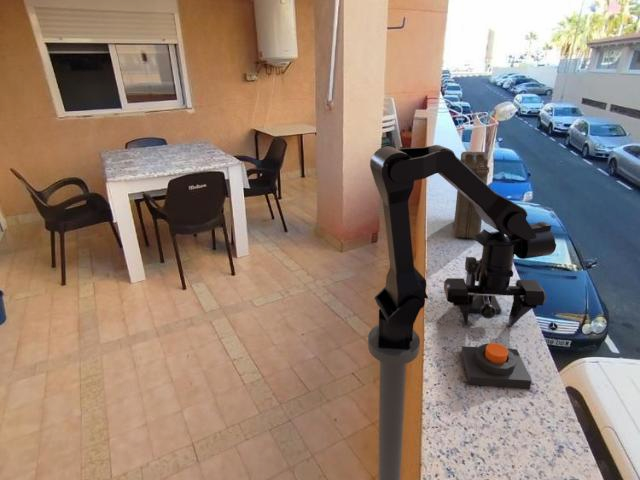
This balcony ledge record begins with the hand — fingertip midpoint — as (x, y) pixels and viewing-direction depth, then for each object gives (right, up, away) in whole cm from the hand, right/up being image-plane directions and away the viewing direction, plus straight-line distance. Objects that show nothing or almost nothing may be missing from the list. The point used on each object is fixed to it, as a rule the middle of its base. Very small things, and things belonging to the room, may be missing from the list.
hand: (487, 324), depth 81 cm
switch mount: (+1, +4, +8) cm, 9 cm away
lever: (0, +6, +3) cm, 7 cm away
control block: (-4, -6, -12) cm, 14 cm away
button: (-5, -3, -13) cm, 14 cm away
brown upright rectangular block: (+14, +22, +47) cm, 53 cm away
